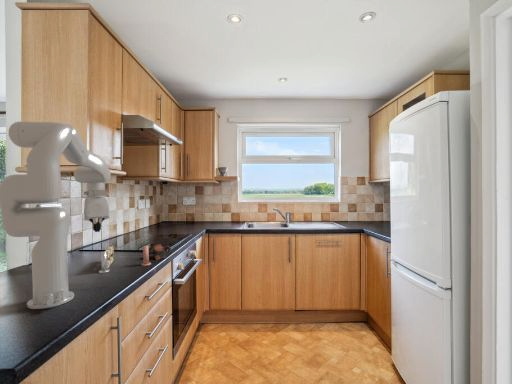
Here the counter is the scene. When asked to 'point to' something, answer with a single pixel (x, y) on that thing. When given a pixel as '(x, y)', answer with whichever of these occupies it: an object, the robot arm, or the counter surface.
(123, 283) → the counter surface
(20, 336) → the counter surface
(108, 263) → the gate
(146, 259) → the post
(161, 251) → the pottery mug
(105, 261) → the clear glass cylinder
